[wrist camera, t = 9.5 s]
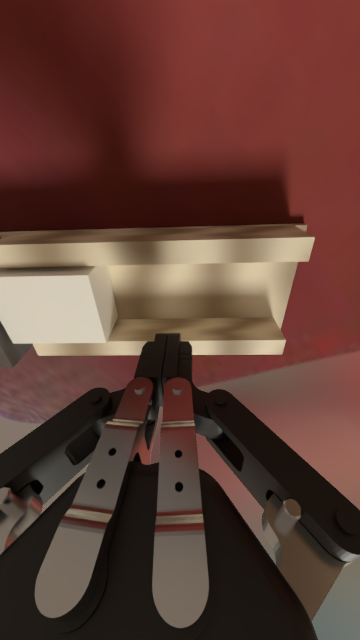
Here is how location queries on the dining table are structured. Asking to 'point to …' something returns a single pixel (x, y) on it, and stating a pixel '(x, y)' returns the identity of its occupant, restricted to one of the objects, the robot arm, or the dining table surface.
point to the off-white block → (57, 304)
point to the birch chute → (174, 284)
